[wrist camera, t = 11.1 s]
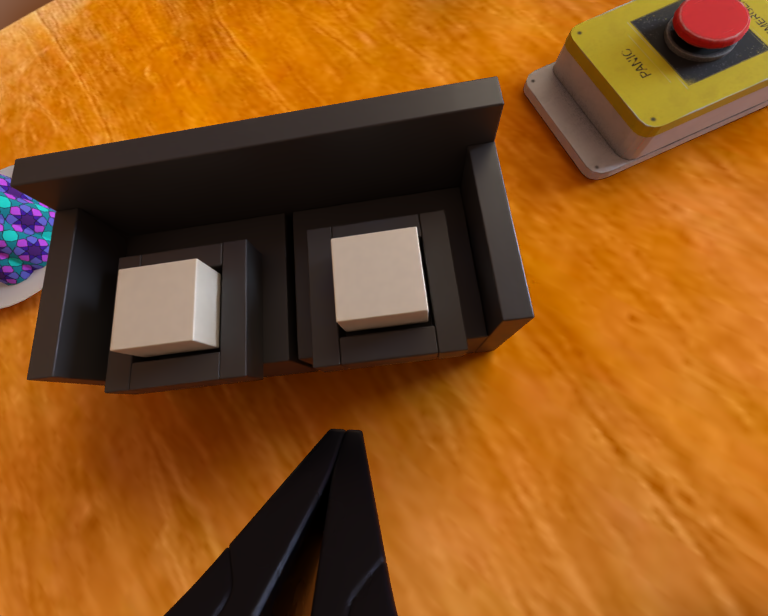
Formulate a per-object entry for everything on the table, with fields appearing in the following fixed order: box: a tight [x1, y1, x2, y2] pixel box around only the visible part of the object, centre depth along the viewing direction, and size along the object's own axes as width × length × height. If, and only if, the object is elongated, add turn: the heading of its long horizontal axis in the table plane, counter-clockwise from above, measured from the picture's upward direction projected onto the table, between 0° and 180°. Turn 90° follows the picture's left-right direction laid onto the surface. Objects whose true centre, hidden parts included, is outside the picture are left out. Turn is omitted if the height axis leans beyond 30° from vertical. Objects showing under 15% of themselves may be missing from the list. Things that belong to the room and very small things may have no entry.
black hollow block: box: [10, 77, 534, 386], centre depth 18 cm, size 9×21×10 cm, turn 96°
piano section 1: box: [293, 187, 488, 372], centre depth 19 cm, size 9×9×7 cm
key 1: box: [331, 227, 428, 332], centre depth 15 cm, size 4×4×2 cm
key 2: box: [110, 259, 221, 357], centre depth 16 cm, size 4×4×2 cm
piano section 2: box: [105, 213, 318, 394], centre depth 20 cm, size 9×9×7 cm
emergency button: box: [523, 0, 768, 180], centre depth 23 cm, size 9×4×15 cm
